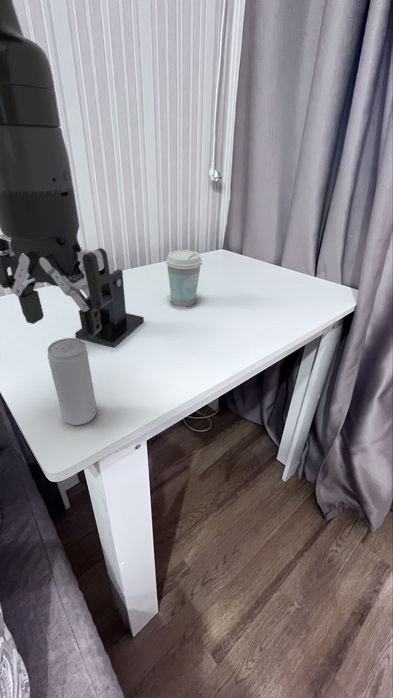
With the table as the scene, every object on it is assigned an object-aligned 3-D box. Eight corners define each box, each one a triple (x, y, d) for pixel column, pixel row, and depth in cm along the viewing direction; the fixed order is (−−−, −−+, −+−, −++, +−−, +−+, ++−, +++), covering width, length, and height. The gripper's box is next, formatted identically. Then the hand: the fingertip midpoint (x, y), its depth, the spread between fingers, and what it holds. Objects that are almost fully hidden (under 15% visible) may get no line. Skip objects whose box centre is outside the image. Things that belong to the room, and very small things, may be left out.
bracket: (113, 347, 65) (106, 286, 58) (75, 337, 67) (64, 277, 60) (143, 321, 74) (141, 265, 67) (109, 313, 77) (103, 259, 70)
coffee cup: (179, 312, 79) (180, 262, 72) (159, 299, 84) (158, 252, 78) (207, 303, 83) (209, 256, 77) (186, 292, 89) (187, 247, 82)
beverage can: (104, 412, 50) (94, 344, 43) (78, 432, 46) (63, 362, 40) (81, 400, 52) (69, 333, 45) (55, 418, 48) (37, 349, 42)
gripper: (-58, 180, 31) (-6, 329, 40) (65, 193, 27) (93, 357, 36) (7, 173, 37) (39, 305, 46) (116, 184, 33) (129, 326, 42)
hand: (63, 327), depth 41 cm, fingers open, 8 cm apart
